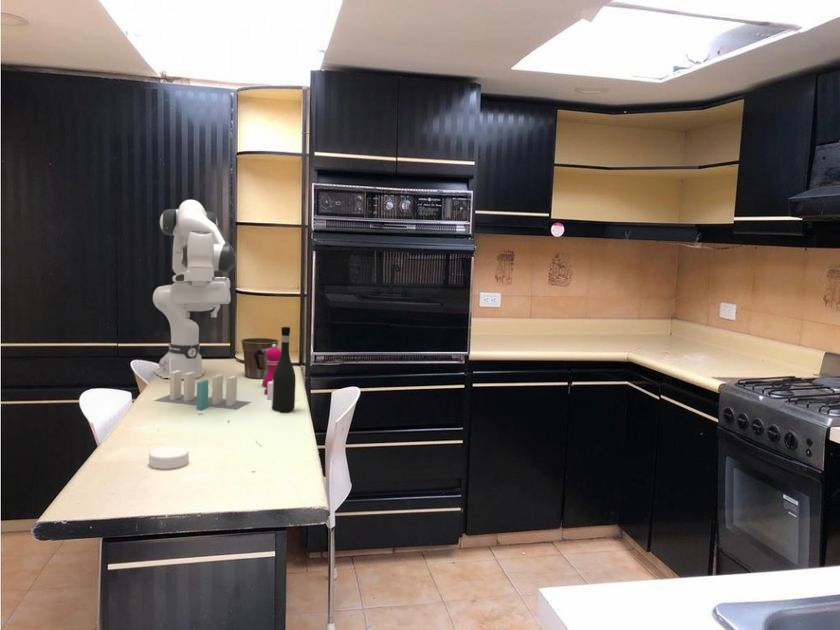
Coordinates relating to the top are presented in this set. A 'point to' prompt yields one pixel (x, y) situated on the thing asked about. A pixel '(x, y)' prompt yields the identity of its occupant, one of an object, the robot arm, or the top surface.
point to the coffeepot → (264, 361)
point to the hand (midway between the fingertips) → (200, 317)
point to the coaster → (168, 457)
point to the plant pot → (249, 349)
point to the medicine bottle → (269, 390)
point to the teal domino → (202, 394)
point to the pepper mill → (271, 364)
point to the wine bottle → (284, 378)
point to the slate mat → (219, 405)
